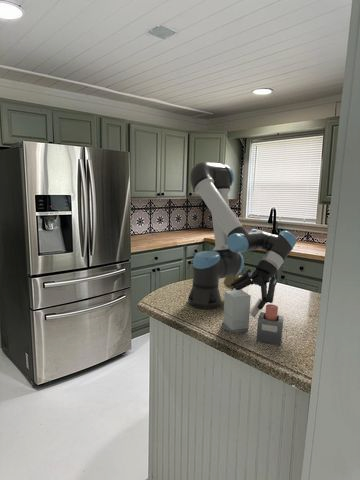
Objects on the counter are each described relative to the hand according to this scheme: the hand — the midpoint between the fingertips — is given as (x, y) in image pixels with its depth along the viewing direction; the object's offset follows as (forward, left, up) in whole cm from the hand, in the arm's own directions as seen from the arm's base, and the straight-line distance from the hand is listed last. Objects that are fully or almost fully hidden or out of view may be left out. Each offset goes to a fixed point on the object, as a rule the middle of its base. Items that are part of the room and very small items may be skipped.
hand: (238, 309), depth 120 cm
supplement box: (-1, 0, -7) cm, 7 cm away
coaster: (-1, 0, -7) cm, 7 cm away
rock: (-14, +54, -8) cm, 56 cm away
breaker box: (+12, -4, -7) cm, 15 cm away
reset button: (+12, -4, -2) cm, 13 cm away
